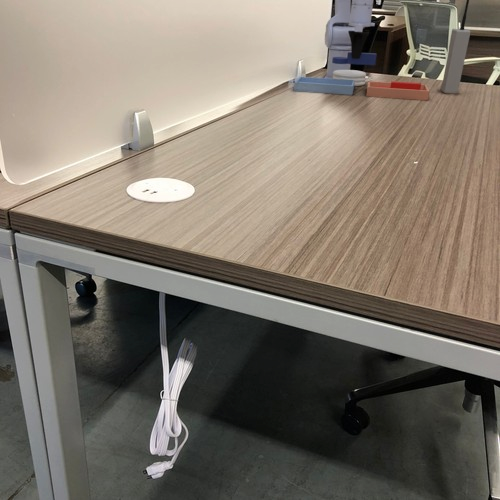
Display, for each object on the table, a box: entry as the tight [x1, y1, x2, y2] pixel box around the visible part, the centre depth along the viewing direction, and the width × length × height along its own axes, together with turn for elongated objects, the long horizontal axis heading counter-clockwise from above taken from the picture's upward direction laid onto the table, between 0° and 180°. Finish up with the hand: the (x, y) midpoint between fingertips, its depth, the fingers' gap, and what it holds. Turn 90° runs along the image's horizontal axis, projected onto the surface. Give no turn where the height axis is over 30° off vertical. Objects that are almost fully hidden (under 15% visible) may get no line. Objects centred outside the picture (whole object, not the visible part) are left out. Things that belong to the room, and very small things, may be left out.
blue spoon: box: [332, 52, 377, 66], centre depth 144 cm, size 12×4×3 cm, turn 77°
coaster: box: [333, 69, 367, 87], centre depth 154 cm, size 10×10×4 cm
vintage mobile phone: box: [439, 0, 471, 95], centre depth 141 cm, size 4×5×25 cm
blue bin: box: [293, 76, 355, 96], centre depth 144 cm, size 10×16×2 cm, turn 77°
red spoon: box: [375, 80, 422, 90], centre depth 140 cm, size 12×4×3 cm, turn 77°
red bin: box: [366, 80, 430, 101], centre depth 140 cm, size 10×16×2 cm, turn 77°
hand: (355, 57), depth 144 cm, fingers closed on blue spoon
